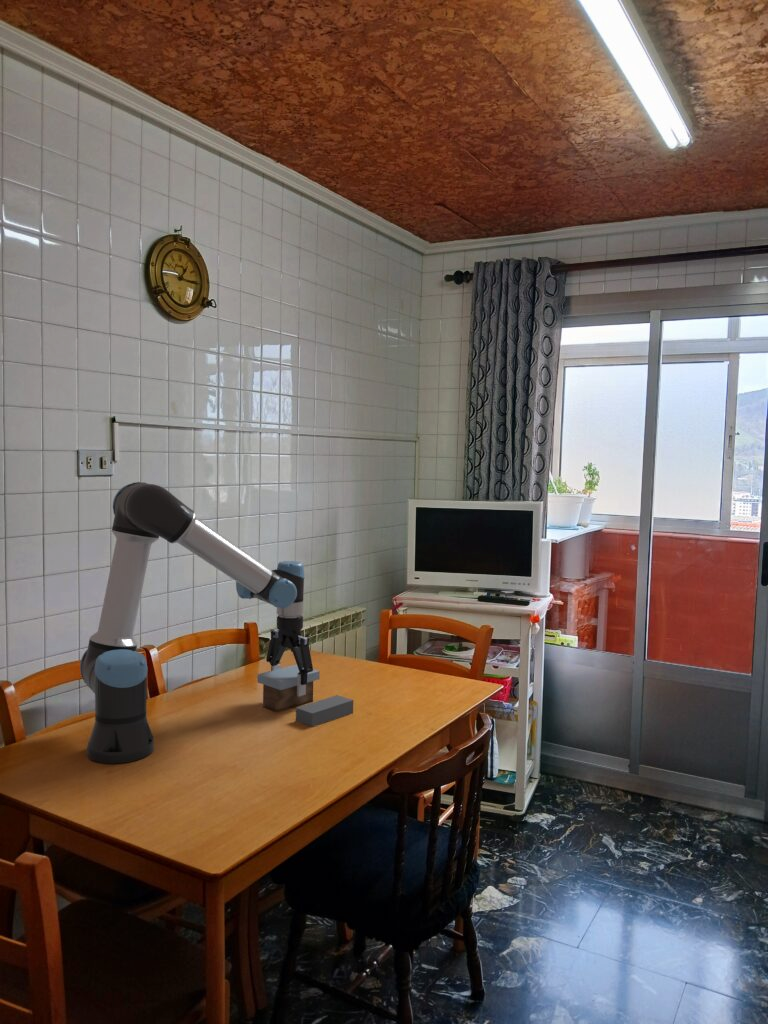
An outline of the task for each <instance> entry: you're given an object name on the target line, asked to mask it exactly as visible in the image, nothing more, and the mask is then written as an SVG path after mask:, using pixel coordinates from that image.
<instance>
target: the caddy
mask: <svg viewBox="0 0 768 1024" xmlns="http://www.w3.org/2000/svg"><path fill="white" fill-rule="evenodd" d="M262 695H263V696H262V708H263V709H266V710H268V711H271V712H275V713H280V712H284V711H286V710H287V711H288V710H290V709H293V708H297V707H300V706H304V705H307V704H310V703H313V702H314V681H311V682H308V683H307V684H306V695H302V696H299V697H298V696H297V686H294V687H290V688H286V689H283V690H279V689H276V688H273V687H270V686H267V685H264V684H262Z"/></svg>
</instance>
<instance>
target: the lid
mask: <svg viewBox="0 0 768 1024" xmlns="http://www.w3.org/2000/svg"><path fill="white" fill-rule="evenodd" d="M303 669H304V668H303ZM320 672H321V671H320V670H317V669H314V668H313V671H312V672H308V674H307V683H308V682H311V681H313V682H315V681H317V680H320V675H321V674H320ZM298 673H299V669H298V666H297V664H293V665H289V666H285V667H281V668H280V669H276V670H272V671H271V670H270V671H269V670H268V671H266V672H265V671H264V672H262V673H257V676H256V678H257V679H256V682H257V683H258V684H261V685H263V684H264V685H267V686H270V687H273V688H276V689H279V690H283V689H286V688H290V687H294V686H297V674H298Z"/></svg>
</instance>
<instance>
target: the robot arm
mask: <svg viewBox="0 0 768 1024" xmlns="http://www.w3.org/2000/svg"><path fill="white" fill-rule="evenodd" d="M112 511H113V515H114V518H113V521H112V528H111V532H112V533H113V536H114V537H115V544H114V551H113V555H112V559H111V564H110V569H109V573H108V574H109V575H108V580H107V583H106V588H105V594H104V599H103V603H102V608H101V614H100V619H99V623H98V627H97V631H96V632H95V633H93V634H92V635H90V637H89V640H88V646H87V649H86V650H85V652H84V653H83V654H82V656H81V659H80V663H79V671H80V675H81V677H82V680H83V682H84V684H85V685H86V687H88V688H89V689H90V690H91V691H92V693H93V694H94V698H95V699H94V713H95V715H94V716H95V717H94V725H93V728H92V730H91V733H90V736H89V739H88V742H87V744H86V745H87V746H86V751H87V752H86V756H87V758H88V759H89V760H91V761H93V762H97V763H101V764H125V763H129V762H134V761H138V760H141V759H144V758H146V757H148V756H149V755H150V754H152V753H153V751H154V749H155V739H154V736H153V733H152V729H151V728H150V727H151V726H150V724H149V721H148V718H147V716H148V715H147V714H148V713H147V711H148V710H147V708H148V707H147V704H148V703H147V697H148V695H147V694H148V692H147V691H148V690H147V689H148V687H147V686H148V672H149V671H148V665H147V664H148V662H147V658H146V657H145V655H144V654H143V653H141V652H139V651H137V648H138V647H137V646H138V642H137V641H136V639H135V638H134V631H135V628H136V627H135V626H136V621H137V616H138V613H139V612H138V611H139V608H140V601H141V596H142V593H143V592H142V591H143V587H144V583H145V582H144V581H145V577H146V572H147V568H148V567H147V566H148V562H149V558H150V551H151V547H152V545H153V544H154V543H155V542H156V541H158V540H159V538H161V539H164V540H165V541H167V542H168V543H170V544H175V543H176V544H179V545H180V546H182V547H184V548H185V549H186V550H188V551H189V552H192V553H193V554H194V555H195V556H197V557H199V558H200V559H201V560H203V561H205V562H206V563H208V564H209V565H210V566H212V567H214V568H215V569H217V570H218V571H219V572H222V573H223V574H224V575H225V576H227V577H229V578H230V579H232V580H233V581H235V589H236V593H237V595H238V597H239V598H241V599H243V600H245V599H246V600H247V599H249V600H251V599H257V600H259V601H262V602H265V603H267V604H269V605H272V606H273V607H275V608H276V615H277V616H276V628H277V629H274V630H271V631H270V641H269V644H268V649H267V653H266V658H265V661H266V662H267V663H269V664H270V669H271V670H270V671H272V670H276V669H280V668H282V665H281V662H280V661H281V659H282V657H283V655H284V653H285V651H286V648H288V649H290V652H291V653H292V655H293V657H294V660H295V663H296V665H297V666H298V669H299V673H298V674H297V696H298V697H299V696H302V695H306V684H307V674H308V672H312V671H313V669H314V666H313V660H312V656H311V650H310V637H309V636H302V633H301V631H302V629H303V628H304V616H303V614H304V590H305V589H304V585H305V568H304V563H302V562H300V561H293V560H292V561H291V560H287V561H286V560H285V561H284V560H283V561H280V562H278V564H277V567H276V568H277V569H271V568H269V567H268V566H267V565H266V564H263V563H262V562H261V561H259V560H258V559H256V558H254V557H253V556H252V555H250V554H249V553H248V552H246V551H245V550H244V549H242V548H240V547H239V546H237V545H236V544H235V543H233V542H232V541H230V540H228V538H226V537H225V536H224V535H222V534H221V533H219V532H218V531H216V530H214V529H213V528H212V527H210V526H209V525H208V524H206V523H204V522H203V521H202V520H200V519H199V518H197V517H196V512H195V511H194V510H193V509H192V508H190V507H189V506H188V505H186V504H185V503H184V502H182V501H181V500H180V499H179V498H177V497H176V496H175V495H174V494H172V493H171V492H170V491H168V490H167V489H166V488H164V487H163V486H161V485H157V484H154V483H147V482H145V481H144V482H143V481H137V482H132V483H129V484H126V485H124V486H122V487H121V488H120V489H119V490H118V491H117V492H116V494H115V495H114V498H113V501H112ZM303 668H304V669H303Z"/></svg>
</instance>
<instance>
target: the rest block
mask: <svg viewBox="0 0 768 1024" xmlns="http://www.w3.org/2000/svg"><path fill="white" fill-rule="evenodd" d="M353 713H354V699H351V698H347V697H345V696H341V695H339V694H336V695H333V696H330V697H326V698H324V699H321V700H317V701H313V702H310V703H307V704H303V705H300V706H297V707H295V722H297V723H300V724H303V725H305V726H309V727H311V728H314V727H317V726H319V725H322V724H326V723H328V722H332V721H334V720H336V719H339V718H343V717H345V716H348V715H351V714H353Z"/></svg>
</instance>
